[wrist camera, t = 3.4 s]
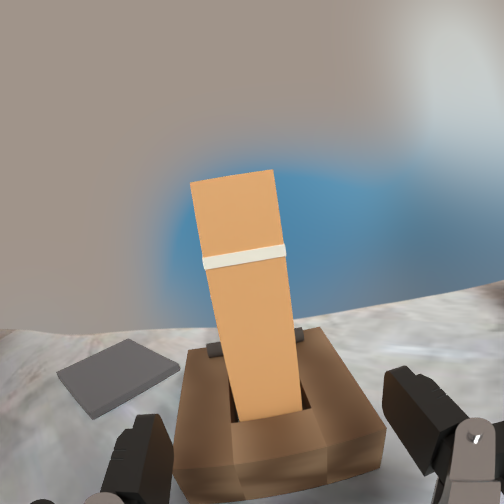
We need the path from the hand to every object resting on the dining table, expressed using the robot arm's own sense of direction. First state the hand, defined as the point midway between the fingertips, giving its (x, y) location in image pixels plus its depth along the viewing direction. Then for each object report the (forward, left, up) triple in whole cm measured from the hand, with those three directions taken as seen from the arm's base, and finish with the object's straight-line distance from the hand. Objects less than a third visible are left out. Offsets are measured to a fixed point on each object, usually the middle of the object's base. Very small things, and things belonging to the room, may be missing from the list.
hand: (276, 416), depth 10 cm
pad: (+3, +26, -10) cm, 28 cm away
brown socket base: (+7, +7, -10) cm, 14 cm away
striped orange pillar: (+7, +7, -10) cm, 14 cm away
